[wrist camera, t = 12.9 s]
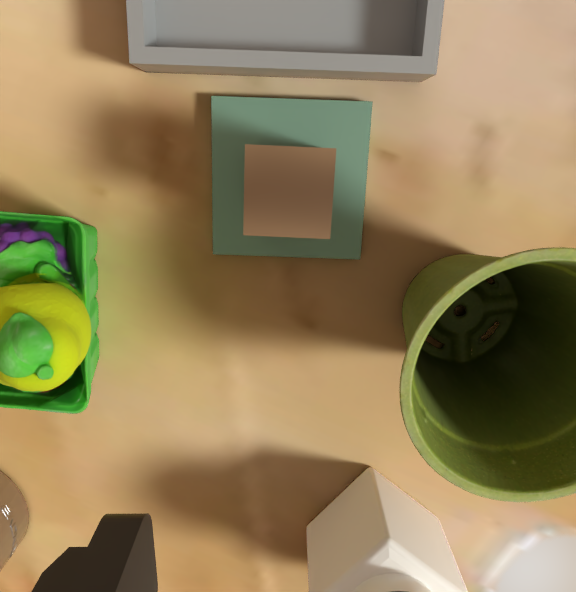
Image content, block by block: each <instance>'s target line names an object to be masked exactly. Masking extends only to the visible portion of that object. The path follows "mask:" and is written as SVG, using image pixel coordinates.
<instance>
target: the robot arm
mask: <svg viewBox="0 0 576 592" xmlns="http://www.w3.org/2000/svg"><path fill="white" fill-rule="evenodd" d="M28 524H29V512H28V508H27V505H26V501H25V499H24V497H23V495H22V493H21V491H20V490H19V489H18V487H17V486H16V485H15V484H14V483H13V481H12V480H11V479H10V478H8V477H7V476H6V475H5V474H4V473H2V472H1V471H0V571H1V570H2V568H3V567H4V565H5V564H6V563H7V561H8V560H9V558H10V557H11V556H12V554H13V553H14V551H15V550H16V548H17V547H18V545H19V544H20V542H21V541H22V539H23V537H24V536H25V534H26V531H27V527H28ZM157 591H158V583H157V571H156V560H155V549H154V539H153V528H152V520H151V517H150V515H149V514H106V515H104V516H103V518H102V519H101V521H100V523H99V525H98V527H97V529H96V531H95V533H94V535H93V537H92V539H91V541H90V543H89V545H88V547H69V548H68V549H67V550H66V551H65V552H64V553H63V554H62V555H61V556H59V557H58V558H57V559H56V560H55V561H54V562H53V563H52V564H51V565H50V566H49V567H48V568H47V569H46V570H45V571H44V572H43V573H42V574H41V576H40V578H39V580H38V581H37V583H36V585H35V587H34V588H33V590H32V592H157Z"/></svg>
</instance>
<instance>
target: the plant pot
mask: <svg viewBox="0 0 576 592" xmlns="http://www.w3.org/2000/svg"><path fill="white" fill-rule="evenodd" d="M489 277H492V278H493V279H494V281H495V283H494V284H489V283H488V282H487V281H486V280H485V279H487V278H489ZM459 305H463V306H464V307H465V309H466V312H465V314H464V315H462V316H456V315H455V313H454V310H455V308H456V307H457V306H459ZM496 319H497V320H496ZM402 320H403V327H404V333H405V339H406V346H407V351H406V354H405V357H404V361H403V365H402V370H401V377H400V405H401V411H402V416H403V420H404V424H405V426H406V429H407V432H408V434H409V436H410V438H411V440H412V442H413V444H414V446H415V447H416V449H417V450H418V452H419V453H420V455H421V456H422V457H423V459H424V460H425V461H426V462H427V463H428V465H430V466H431V467H432V468H433V469H434V470H435V471H436V472H437V473H438V474H439V475H441V476H442V477H444V478H445V479H446V480H448V481H449V482H451V483H453V484H454V485H456V486H458V487H460V488H462V489H463V490H465V491H468V492H470V493H472V494H475V495H478V496H481V497H485V498H489V499H494V500H500V501H508V502H533V501H544V500H550V499H555V498H560V497H564V496H568V495H571V494H574V493H576V248H540V249H533V250H527V251H523V252H519V253H515V254H511V255H508V256H505V257H492V256H483V255H474V254H458V255H452V256H448V257H445V258H442V259H439V260H436V261H434V262H433V263H431V264H429V265H428V266H427V267H425V268H424V269H423V270H422V271H421V272H420V273H419V274H418V275H417V276H416V277H415V278H414V279H413V281H412V282H411V284H410V286H409V287H408V289H407V292H406V294H405V297H404V301H403V306H402ZM495 321H496V322H499V326H498V327H497V329H496V330H495V332H494V333H493V334H492V335H491V336H490V337H489V338H488V339H487V340H485V341H482V339H481V336H482V335H483V334H484V333H486V331H487V330H488V329H489V328H490V327H491V326H493V325H494V322H495ZM428 334H429V335H430V336H432V337H433V338H434V339H435V340H437V341H438V342H440V343H444V345H443V347H442V348H441V349H439V348H436V347H434V346H433V345H432V344H430V343H428V342H427V341H425V339H426V337H427V336H428ZM471 349H472V351H471ZM471 354H472V355H471Z"/></svg>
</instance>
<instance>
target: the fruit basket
mask: <svg viewBox="0 0 576 592" xmlns="http://www.w3.org/2000/svg"><path fill="white" fill-rule="evenodd" d="M96 253H97V230H96V228H95V227H93V226H90V225H86V224H82V223H81V222H79V221H78V220H76V219H74V218H71V217H66V216H51V215H39V214H27V213H15V212H4V211H0V407H5V408H19V409H28V410H40V411H50V412H60V413H72V414H74V413H80V412H82V411H83V410H85V409H86V407H87V406H88V403H89V398H90V394H91V383H92V379H93V376H94V372H95V369H96V366H97V362H98V359H99V339H98V337H97V334H96V331H97V327H98V322H99V321H98V302H97V299H96V297H95V295H96V292H97V290H98V267H97V264H96V260H95V259H94V258H95V256H96Z"/></svg>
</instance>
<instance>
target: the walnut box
mask: <svg viewBox="0 0 576 592" xmlns="http://www.w3.org/2000/svg"><path fill="white" fill-rule="evenodd" d="M335 163H336V148H316V147H294V146H273V145H251V144H245V167H244V221H243V235H249V236H271V237H293V238H315V239H330V234H331V220H332V206H333V191H334V177H335Z"/></svg>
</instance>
